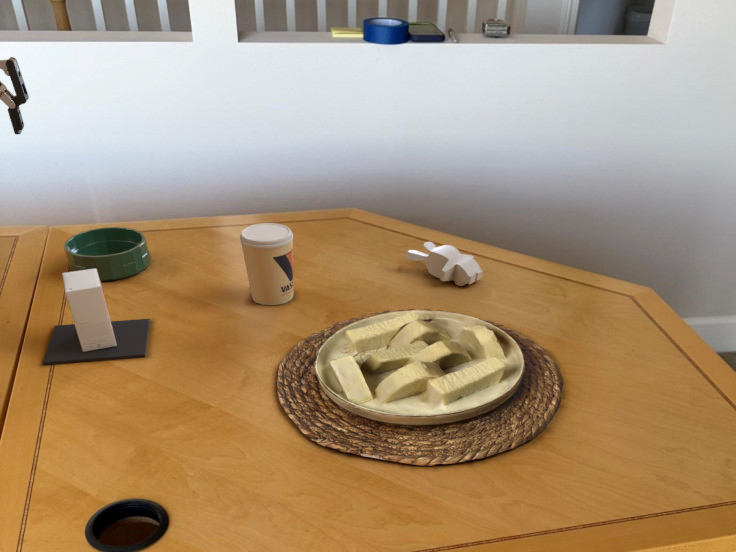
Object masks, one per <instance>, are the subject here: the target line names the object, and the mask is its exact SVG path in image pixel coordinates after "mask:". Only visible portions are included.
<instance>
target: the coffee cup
mask: <svg viewBox="0 0 736 552" xmlns="http://www.w3.org/2000/svg"><path fill="white" fill-rule="evenodd" d="M293 239H294V234H293V232H292V230H291V229H290V227H289V226H287V225H285V224H281V223H276V222H265V223H264V222H261V223H255V224H251V225H248V226H246V227H244V228H243V229H242V230H241V232H240V235H239V241H240V243H241V248H242V254H243V259H244V262H245V263H244V264H245V270H246V274H247V280H248V285H249V289H250V294H251V298H252V300H253V301H254V302H255V303H257V304H259V305H263V306H279V305H284V304H286V303H289V302H290V301H291V300H292V299H293V298H294V248H293V247H294V246H293Z"/></svg>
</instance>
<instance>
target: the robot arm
mask: <svg viewBox="0 0 736 552" xmlns="http://www.w3.org/2000/svg"><path fill="white" fill-rule="evenodd" d="M0 70H2V71H3V73H4V75H6V76H7V77H9V78H10V81H11V85H12V87H13V90H14V92H15V95H14V93H12V92H11V91H10V90H9V89H8V87H7V86H6V84H4V82H3V81H1V80H0V101H2V102H3V103H4V104H5V105H6V107H8V108H7V113H8V116H9V120H10V122H11V126H12V129H13V133H14V135H21V133H22V132H23V130H24V127H25V122H24V120H23V119H24V118H23V116H22V111H21V109H20V106H22V105H24V104H26V103H27V102H28V100H29V99H30V96H29V92H28V90H27V87H26V84H25V80H24V77H23V74H22V72H21V68H20V66H19V63H18V60H17V59H16V58H15V57H14V56H10V57H9V58H8V59H0Z"/></svg>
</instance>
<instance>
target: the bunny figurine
mask: <svg viewBox="0 0 736 552" xmlns="http://www.w3.org/2000/svg"><path fill="white" fill-rule="evenodd" d="M423 247H424V249H425V250H426V251H428V252H429V253H425V252H422V251H419V250H416V249H408V250H407V251H406V255H405V259H407V260H409V261H416V262H424V264H425V266H426V268H427V269H426V270H427V271H428V273H429V274H430V275H432V276H433V277H434V278H437V279H439V280H440V281H442V282H450V281H453V282H454V285H457V286H458V287H463V286H465V285H467V284H468V285H471V284H473V283H475V282H476V281H479V280H481V279H482V278H483V275H484V274H483V273H484V270H482V269H481V267H480V264H479V263H478V262H477V260H476V257H475V256H474V255H473V254H463V253H461V252H460V251H459V249H458V248H457V247H455V246H453V245H451V244H443V245H440V246H436V244H435V243H434V242H433V241H426V242H424V243H423Z"/></svg>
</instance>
